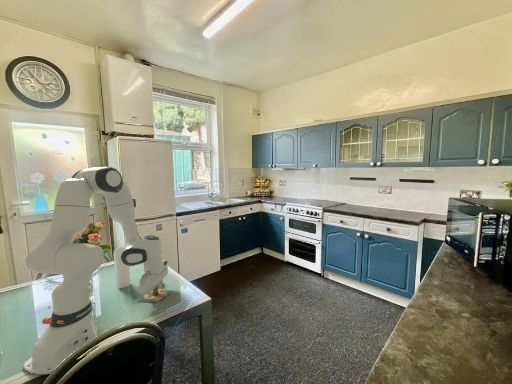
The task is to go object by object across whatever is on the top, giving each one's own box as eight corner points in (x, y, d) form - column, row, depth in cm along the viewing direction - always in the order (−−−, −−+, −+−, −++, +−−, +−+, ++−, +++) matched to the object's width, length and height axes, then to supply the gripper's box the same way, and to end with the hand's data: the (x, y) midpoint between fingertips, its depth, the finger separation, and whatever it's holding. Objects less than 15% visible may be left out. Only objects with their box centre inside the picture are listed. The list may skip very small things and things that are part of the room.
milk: (130, 285, 134) (127, 248, 131) (118, 289, 129) (115, 250, 127) (127, 281, 138) (124, 245, 135) (115, 285, 134) (112, 247, 131)
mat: (160, 304, 115) (159, 303, 115) (137, 302, 117) (137, 301, 117) (172, 291, 127) (172, 290, 127) (152, 289, 129) (151, 288, 129)
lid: (159, 303, 116) (159, 294, 115) (139, 301, 117) (138, 293, 117) (171, 291, 126) (170, 283, 126) (152, 289, 128) (151, 281, 127)
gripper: (146, 277, 109) (148, 304, 111) (169, 259, 129) (170, 282, 131) (134, 276, 110) (136, 303, 112) (158, 258, 130) (160, 282, 132)
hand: (155, 292), depth 122 cm, fingers open, 7 cm apart
